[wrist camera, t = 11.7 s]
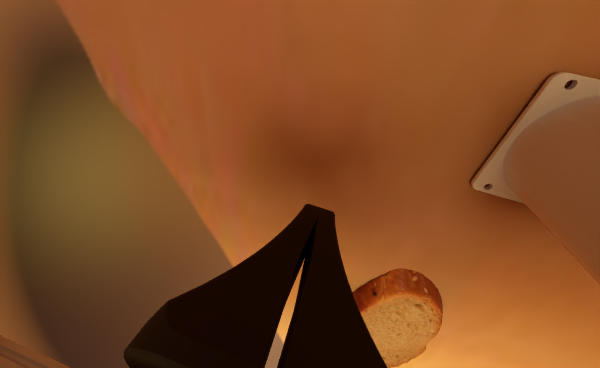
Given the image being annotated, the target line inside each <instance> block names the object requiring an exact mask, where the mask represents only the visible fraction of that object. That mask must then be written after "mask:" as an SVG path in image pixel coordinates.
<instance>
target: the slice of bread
mask: <svg viewBox="0 0 600 368" xmlns="http://www.w3.org/2000/svg"><path fill="white" fill-rule="evenodd" d="M353 296H354V298H355V301H356V304H357V306H358V308H359V311H360V313H361V315H362V317H363V319H364V322H365V324H366V326H367V328H368V330H369V333H370V335H371V337H372V339H373V341H374V343H375V345H376V347H377V349H378V351H379V352H380V354H381V356H382V358H383V360H384V362H385V364H386V366H387V367H388V368H390V367H397V366H399V365H401V364H403V363H407V362H408V361H410V360H411V359H414V358H416V357H417V356H419V355H420V354H422V353H423V352H424V351H425V349H426V345H427V343H428V342H429V341H430V340H431V339H432V338H433V337H435V336H436V335H437V333H438V332H439V330H440V327H441V324H442V314H443V306H442V299H441V296H440V294H439V292H438V289H437V288H436V287H435V285H434V284H433V283H432V282H431V281H430V280H429V279H428V278H426V277H425V276H424V275H423V274H421V273H418V272H416V271H412V270H407V269H396V270H392V271H389V272H388V273H387V274H385V275H382V276H379V277H378V278H376V279H374V280H371V281H369V282H368V283H367V284H365V285H364V286H362V287H360V288H358V290H357V291H356V292H354V293H353Z"/></svg>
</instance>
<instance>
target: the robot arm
mask: <svg viewBox="0 0 600 368" xmlns="http://www.w3.org/2000/svg"><path fill="white" fill-rule="evenodd" d="M570 80H572V84H571V85H570V86H569V87H567V88H564V86H565V84H566V83H567V82H568V81H570ZM486 184H490V185H489V186H488V187H484V186H485V185H486ZM471 185H472V187H473V188H474V189H475V190H478V191H482V192H485V193H489V194H492V195H496V196H499V197H503V198H506V199H509V200H513V201H516V202H520V203H523V204H525V205H526V206H527V207H528V208H529V209H530V210H531V211H532V212H533V213H534V214H535V215H536V216H537V218H538V219H539V220H540V221H541V222H542V223H543V224H544V225H545V226H546V227H547V228H548V229H549V230H550V231H551V233H552V234H553V235H554V236H555V237H556V238H557V239H558V240H559V241H560V242H561V243H562V244H563V245H564V246H565V248H566V249H567V250H568V251H569V252H570V253H571V254H572V255H573V256H574V257H575V258H576V259H577V260H578V262H579V263H580V264H581V265H582V266H583V267H584V268H585V269H586V270H587V271H588V272H589V273H590V274H591V275H592V277H593V278H594V279H595V280H596V281H597V282H598V283H599V284H600V80H599V79H594V78H590V77H586V76H581V75H577V74H572V73H568V72H558V73H555V74H553V75H551V76H550V77H549V78H548V79H547V80H546V82H545V83H544V84H543V86H542V87H541V89H540V90H539V91H538V93H537V94H536V95H535V97H534V98H533V99H532V101H531V102H530V103H529V105H528V106H527V107H526V109H525V110H524V111H523V113H522V114H521V115H520V117H519V118H518V119H517V121H516V122H515V123H514V125H513V126H512V127H511V129H510V130H509V131H508V133H507V134H506V135H505V137H504V138H503V139H502V141H501V142H500V143H499V145H498V146H497V147H496V149H495V150H494V152H493V153H492V154H491V156H490V157H489V158H488V160H487V161H486V162H485V164H484V165H483V166H482V168H481V169H480V170H479V172H478V173H477V174H476V176H475V177H474V178H473V180H472V181H471ZM304 258H305V260H304ZM303 261H304V265H303V269H302V274H301V279H300V284H299V289H298V294H297V299H296V303H295V307H294V312H293V315H292V319H291V322H290V325H289V329H288V332H287V336H286V339H285V342H284V346H283V349H282V353H281V356H280V359H279V362H278V366H277V368H388V367H387V366H386V364H385V362H384V360H383V358H382V356H381V354H380V352H379V351H378V349H377V347H376V345H375V343H374V341H373V339H372V337H371V335H370V333H369V330H368V328H367V326H366V324H365V322H364V319H363V317H362V315H361V313H360V311H359V308H358V306H357V304H356V301H355V298H354V296H353V293H352V291H351V288H350V285H349V282H348V279H347V276H346V273H345V270H344V266H343V262H342V259H341V255H340V250H339V246H338V241H337V235H336V228H335V214H334V212H332V211H329V210H326V209H323V208H320V207H316V206H313V205H310V204H306V205H305V206H304V207H303V209H302V210H301V212H300V213H299V214H298V215H297V216H296V217H295V219H294V220H293V221H292V222H291V223H290V224H289V225H288V226H287V227H286V228H285V229H284V230H283V231H282V232H281V233H279V234H278V235H277V236H276V237H275V238H274V239H272V240H271V241H270V242H269V243H268V244H266V245H265V246H264V247H263V248H261V249H260V250H259V251H257V252H256V253H255V254H253V255H252V256H250V257H249V258H247V259H246V260H244V261H243V262H241V263H240V264H238V265H237V266H235V267H233V268H232V269H230V270H228V271H227V272H225V273H223V274H221V275H219V276H218V277H216V278H214V279H212V280H210V281H208V282H207V283H205V284H203V285H201V286H199V287H197V288H194V289H192V290H190V291H188V292H186V293H184V294H182V295H179V296H177V297H175V298H173V299H171V300H169V301H167V302H166V303H165V304H164V305H163V306H162V307H161V308H160V309H159V310H158V311H157V312H156V313H155V314H154V316H153V317H152V318H150V320H148V322H147V323H146V324H145V325H144V326H143V328H142V329H141V330H140V332H139V333H138V334H137V335H136V337H135V338H134V339H133V340H132V341H131V343H130V344H129V345H128V347H127V348H126V349H125V351H124V358H125V361H126V363H127V364H128V366H129V367H130V368H265V364H266V361H267V358H268V355H269V352H270V349H271V346H272V343H273V340H274V337H275V334H276V331H277V328H278V324H279V321H280V318H281V315H282V312H283V309H284V307H285V304H286V301H287V299H288V296H289V294H290V292H291V289H292V287H293V285H294V282H295V280H296V277H297V275H298V273H299V270H300V268H301V266H302V263H303ZM0 368H70V367H67V366H65V365H63V364H61V363H59V362H57V361H54V360H52V359H50V358H48V357H46V356H44V355H42V354H39V353H37V352H35V351H33V350H31V349H29V348H26V347H24V346H22V345H20V344H18V343H16V342H14V341H11V340H9V339H7V338H5V337H3V336H1V335H0Z"/></svg>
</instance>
